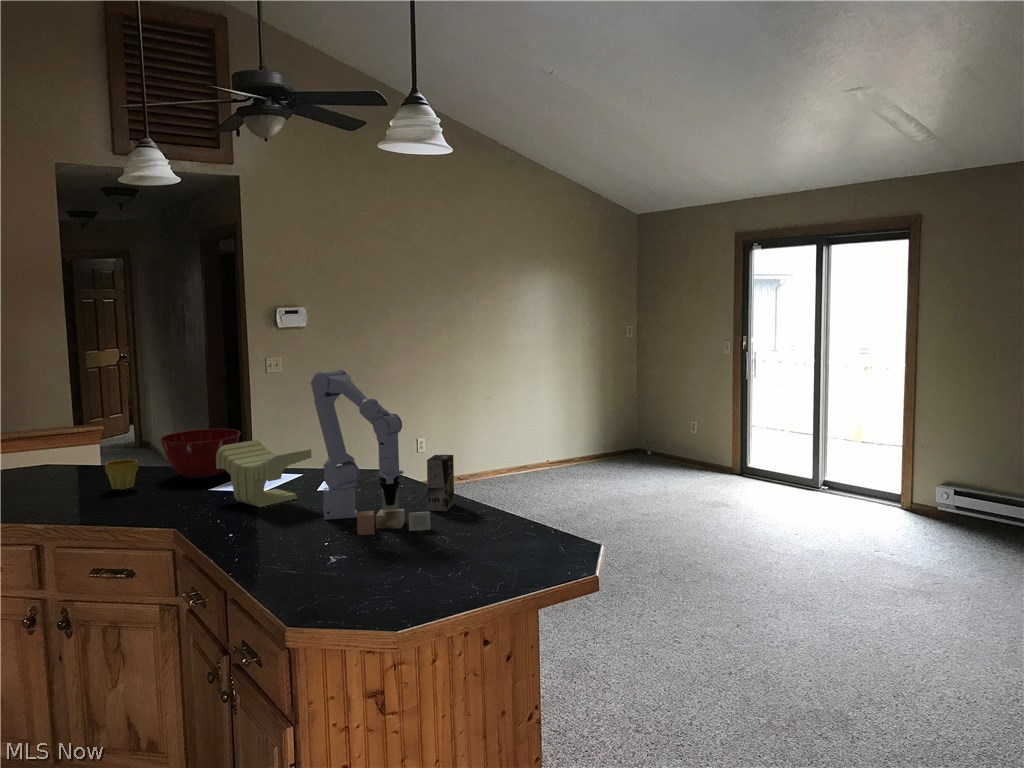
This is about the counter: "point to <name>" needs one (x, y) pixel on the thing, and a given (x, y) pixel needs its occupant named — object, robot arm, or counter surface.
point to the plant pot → (121, 473)
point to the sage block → (390, 507)
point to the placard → (419, 521)
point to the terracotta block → (365, 522)
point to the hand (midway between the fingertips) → (390, 502)
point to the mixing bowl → (197, 450)
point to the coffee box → (440, 482)
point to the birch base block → (390, 518)
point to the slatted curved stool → (256, 471)
